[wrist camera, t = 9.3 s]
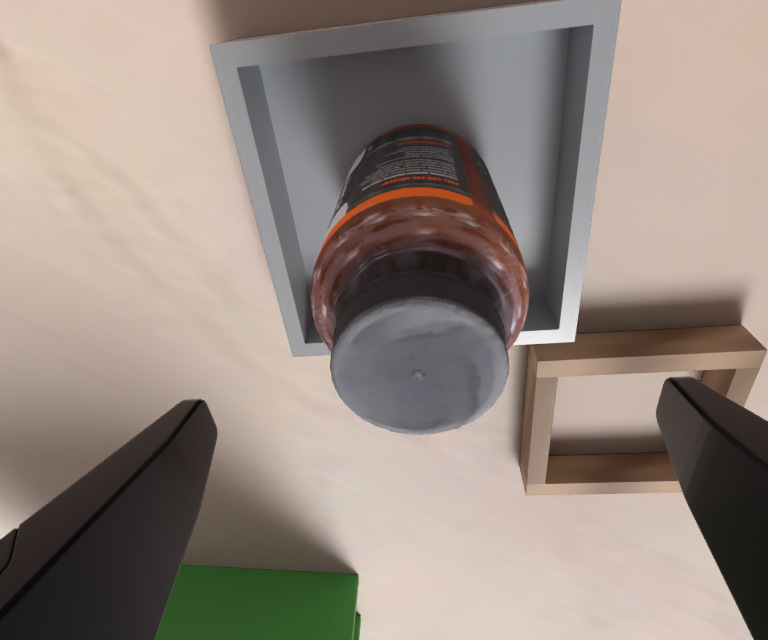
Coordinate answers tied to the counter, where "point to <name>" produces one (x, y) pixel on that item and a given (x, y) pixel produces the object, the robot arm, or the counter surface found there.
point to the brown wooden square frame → (624, 356)
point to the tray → (435, 107)
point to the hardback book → (260, 605)
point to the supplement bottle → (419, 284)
